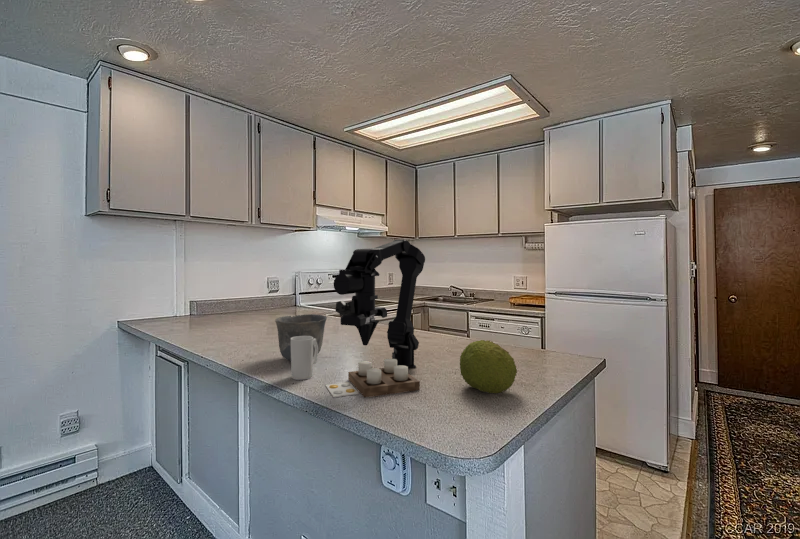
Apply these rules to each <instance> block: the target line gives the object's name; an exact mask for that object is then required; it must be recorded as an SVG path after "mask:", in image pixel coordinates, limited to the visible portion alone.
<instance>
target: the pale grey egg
mask: <svg viewBox="0 0 800 539" xmlns="http://www.w3.org/2000/svg"><path fill="white" fill-rule="evenodd" d="M394 366H397V359H392V358H386V359H384V360H383V368H384V372H387V373H394Z"/></svg>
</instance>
